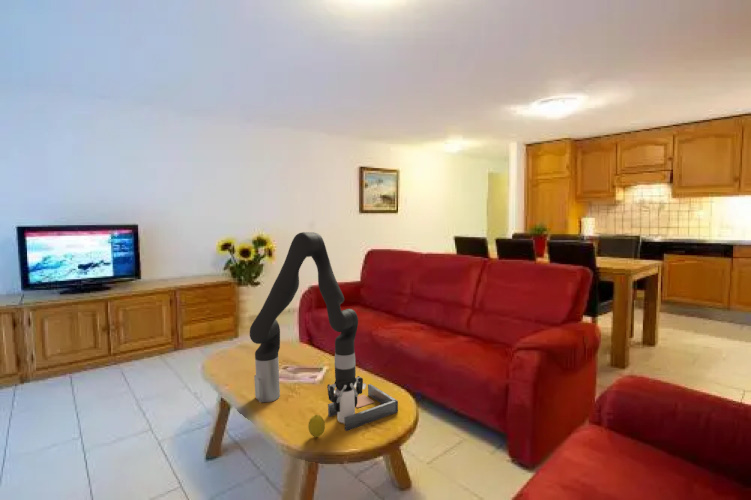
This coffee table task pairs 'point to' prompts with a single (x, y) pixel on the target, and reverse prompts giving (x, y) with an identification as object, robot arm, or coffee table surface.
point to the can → (346, 405)
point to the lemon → (316, 425)
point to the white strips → (362, 387)
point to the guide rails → (371, 414)
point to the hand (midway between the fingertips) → (346, 408)
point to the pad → (363, 401)
